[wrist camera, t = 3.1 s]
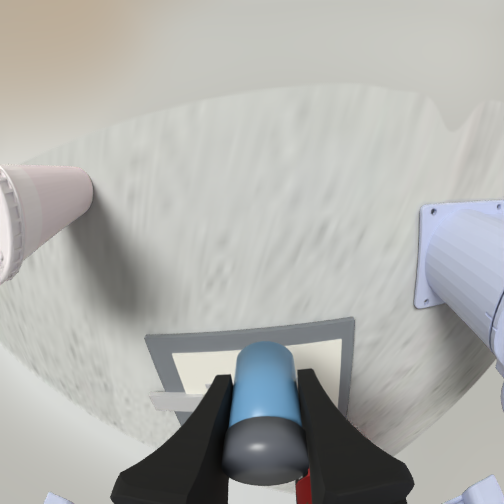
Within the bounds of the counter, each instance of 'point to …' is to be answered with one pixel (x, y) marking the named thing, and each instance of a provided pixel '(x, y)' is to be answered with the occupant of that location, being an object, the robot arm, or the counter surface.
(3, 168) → the smoothie
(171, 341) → the clipboard
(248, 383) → the marker
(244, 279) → the counter surface
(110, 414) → the counter surface
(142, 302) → the counter surface
